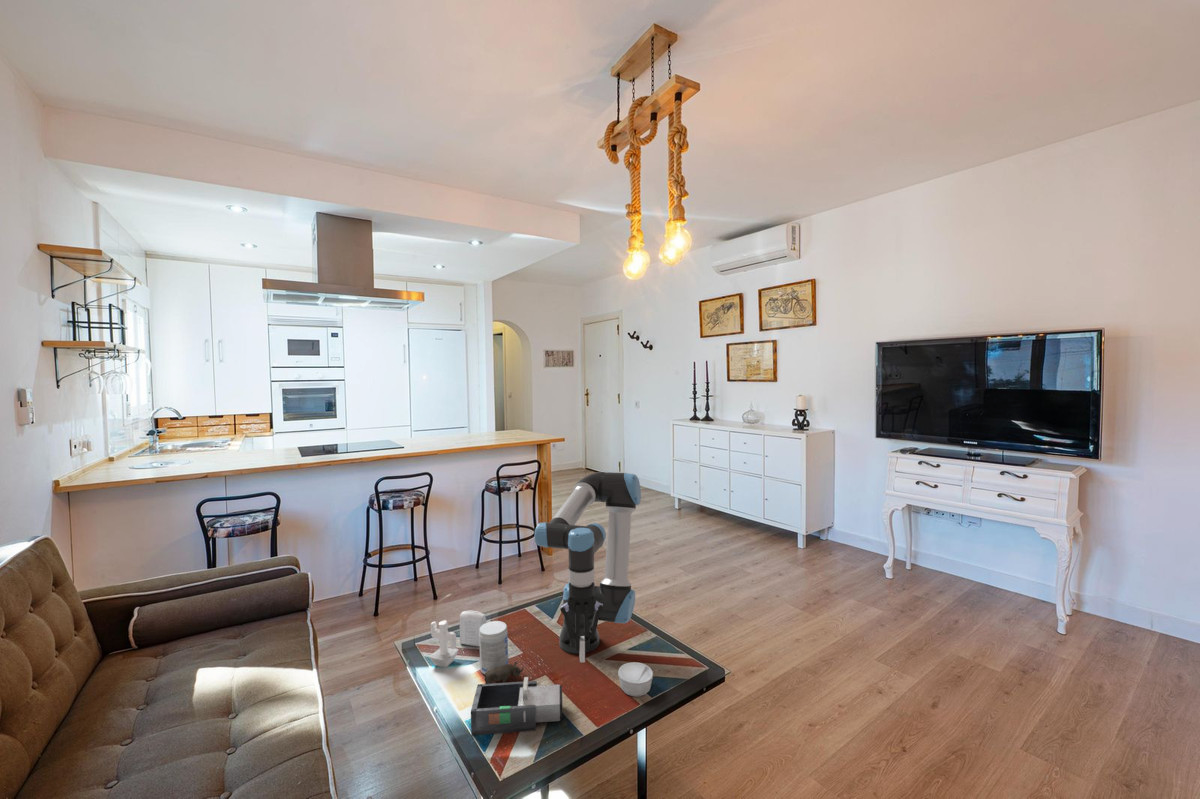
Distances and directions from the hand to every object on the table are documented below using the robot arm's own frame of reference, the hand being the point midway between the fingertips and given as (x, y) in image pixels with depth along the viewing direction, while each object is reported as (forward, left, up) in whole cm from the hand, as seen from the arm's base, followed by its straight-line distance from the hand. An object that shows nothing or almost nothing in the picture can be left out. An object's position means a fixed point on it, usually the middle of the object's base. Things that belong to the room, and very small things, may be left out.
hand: (582, 659), depth 146 cm
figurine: (+47, -30, -17) cm, 59 cm away
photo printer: (+39, -42, -17) cm, 60 cm away
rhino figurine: (+25, -17, -17) cm, 35 cm away
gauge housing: (+23, 0, -17) cm, 28 cm away
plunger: (+12, 0, -15) cm, 20 cm away
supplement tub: (+29, -25, -17) cm, 42 cm away
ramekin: (-18, -10, -17) cm, 27 cm away
